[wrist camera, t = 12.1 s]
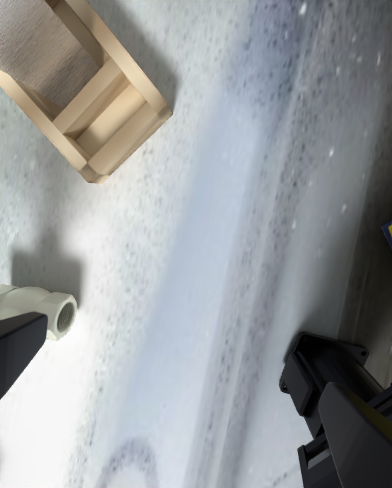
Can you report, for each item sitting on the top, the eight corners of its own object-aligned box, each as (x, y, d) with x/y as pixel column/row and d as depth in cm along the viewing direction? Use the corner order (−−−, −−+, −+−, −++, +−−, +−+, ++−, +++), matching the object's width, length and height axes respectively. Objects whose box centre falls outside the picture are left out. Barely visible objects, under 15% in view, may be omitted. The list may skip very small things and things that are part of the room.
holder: (172, 114, 17) (168, 103, 15) (101, 183, 19) (87, 182, 17) (64, -22, 16) (42, -55, 14) (-6, 65, 17) (-36, 46, 15)
